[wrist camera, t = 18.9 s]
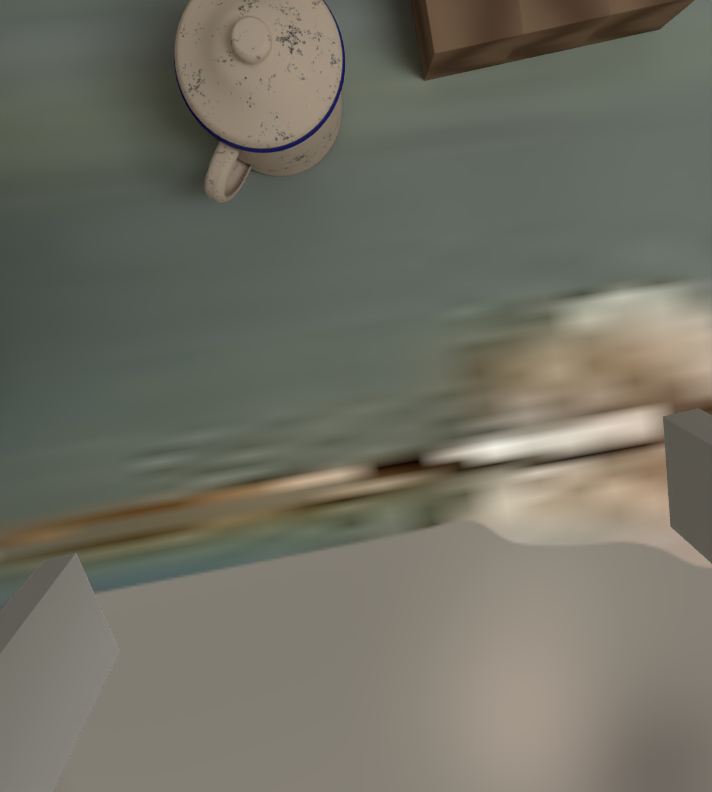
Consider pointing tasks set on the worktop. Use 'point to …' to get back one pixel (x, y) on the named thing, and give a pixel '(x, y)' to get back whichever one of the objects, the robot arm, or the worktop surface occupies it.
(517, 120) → the worktop surface
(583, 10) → the walnut hole block
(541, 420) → the worktop surface
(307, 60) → the teacup with lid
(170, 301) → the worktop surface
